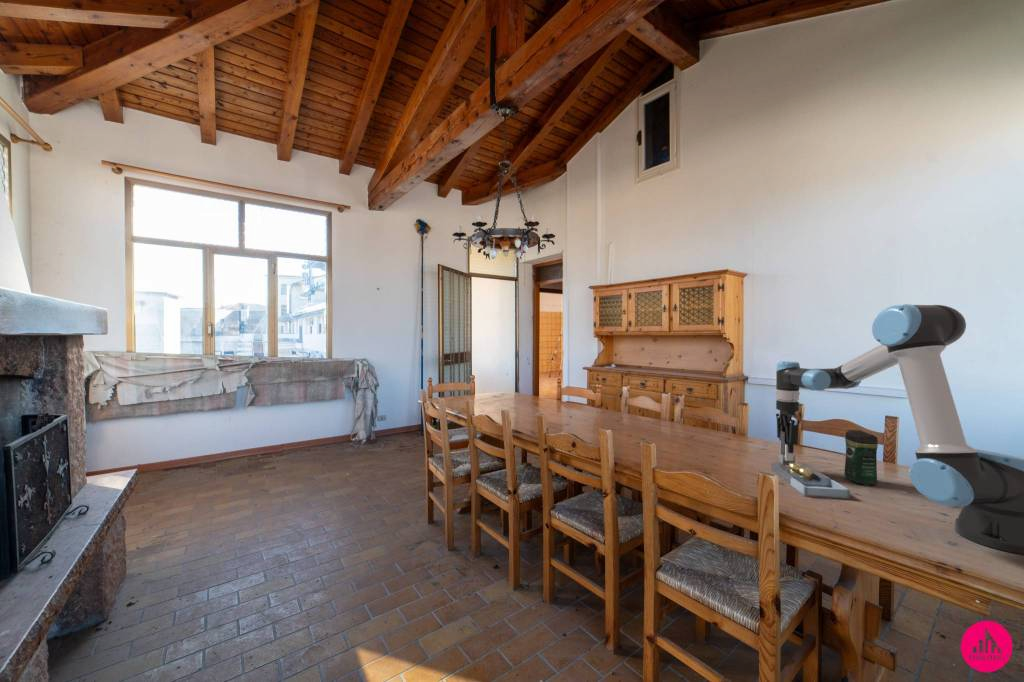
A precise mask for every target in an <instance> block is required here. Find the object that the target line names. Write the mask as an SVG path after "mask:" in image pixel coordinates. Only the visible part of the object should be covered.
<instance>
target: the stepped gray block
mask: <svg viewBox="0 0 1024 682" xmlns="http://www.w3.org/2000/svg"><path fill="white" fill-rule="evenodd" d="M785 443H787V441H786V431H781V448H780V447H779V450H780V452H778V462H780V463H782V464H783V465H785V466H789V463H791V462H794V463H796V455H795V454H794V461H786V460H785Z"/></svg>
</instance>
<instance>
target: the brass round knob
mask: <svg viewBox="0 0 1024 682" xmlns="http://www.w3.org/2000/svg"><path fill="white" fill-rule="evenodd" d="M799 463H800V462H799ZM799 463H797V462H795V463H794V462H791V463H789V465H788V467H789V469H791V470H793V471H794V472H796V473H797V474H799V468H800V467H802V465H801V464H799Z"/></svg>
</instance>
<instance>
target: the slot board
mask: <svg viewBox="0 0 1024 682" xmlns="http://www.w3.org/2000/svg"><path fill="white" fill-rule="evenodd" d="M799 464H801V465H802V467H805V468H810V469H812V479H804V478H802V476H800V475H799V474H797V473H796V472H794V471H793V470H791V469H789V466H788V465H783V464H782V463H780V462H779V461H778V462H777V461H772V462H771V471H772V470H773V471H774V472H775V473H774V472H773V471H772V472H773V473H774V474H776V473H777V474H776V475H777V476H779V477H780V476H781V477H783V478H784V479H785V480H786V481H785V480H784V479H783V480H784V481H785V482H787V483H788V485H789V484H790V485H791V478H794V479H796V480H797V481H798V482H800V483H801V484H803V485H806V486H825V487H830V480H832V479H831V478H830V477H829V476H827V475H826V474H824V473H822V472H820V471H819V470H817V469H815V468H813V467H812V466H811V465H808V464H807V463H803V462H802V463H801V462H799ZM781 477H780V478H781Z"/></svg>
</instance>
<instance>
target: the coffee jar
mask: <svg viewBox="0 0 1024 682" xmlns="http://www.w3.org/2000/svg"><path fill="white" fill-rule="evenodd" d="M844 436H845V437H844V441H845V461H844V477H845V478H846V479H847V480H849V481H851V482H853V483H855V484H860V485H864V486H873V485H877V483H878V468H877V465H878V464H877V457H878V456H877V453H878V452H877V451H878V447H879V442H878V441H879V440H878V437H877V436H875V435H874V434H871V433H868V432H865V431H864V430H863V431H862V430H860V429H859V430H858V429H849V430H847V431H845V435H844Z"/></svg>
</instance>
